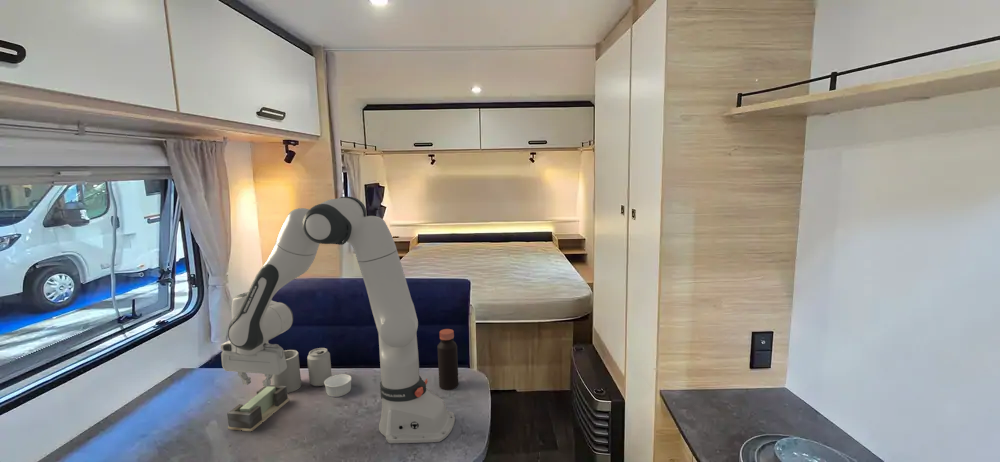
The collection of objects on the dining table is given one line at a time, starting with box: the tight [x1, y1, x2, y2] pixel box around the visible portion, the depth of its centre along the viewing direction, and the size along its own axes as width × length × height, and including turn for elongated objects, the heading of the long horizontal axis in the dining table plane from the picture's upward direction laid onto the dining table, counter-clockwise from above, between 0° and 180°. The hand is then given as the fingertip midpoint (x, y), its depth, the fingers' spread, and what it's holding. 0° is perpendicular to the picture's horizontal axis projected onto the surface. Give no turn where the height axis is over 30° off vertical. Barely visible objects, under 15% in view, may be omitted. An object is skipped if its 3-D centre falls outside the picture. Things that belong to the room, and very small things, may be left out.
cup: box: [271, 349, 302, 394], centre depth 152 cm, size 9×9×12 cm
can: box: [306, 347, 333, 387], centre depth 156 cm, size 8×8×12 cm
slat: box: [240, 387, 276, 414], centre depth 136 cm, size 3×13×5 cm, turn 175°
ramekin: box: [323, 373, 352, 398], centre depth 150 cm, size 9×9×4 cm
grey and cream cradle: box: [226, 384, 290, 432], centre depth 136 cm, size 8×17×5 cm, turn 170°
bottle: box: [437, 328, 459, 391], centre depth 150 cm, size 7×7×20 cm
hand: (257, 384), depth 135 cm, fingers open, 6 cm apart
